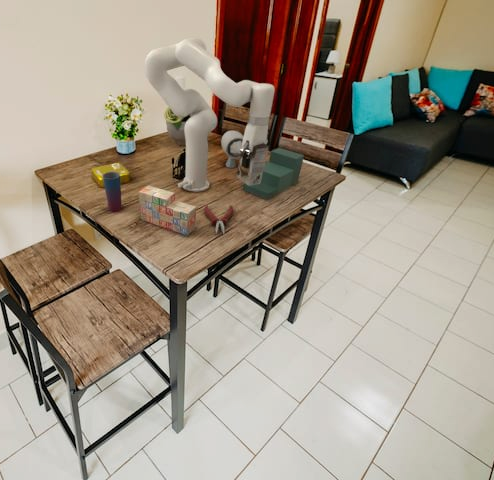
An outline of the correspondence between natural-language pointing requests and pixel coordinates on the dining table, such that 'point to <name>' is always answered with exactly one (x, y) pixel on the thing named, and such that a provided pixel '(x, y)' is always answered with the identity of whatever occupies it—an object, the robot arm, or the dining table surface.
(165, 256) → the dining table surface
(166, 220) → the stack of blocks
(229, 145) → the white rounded piece
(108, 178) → the cup
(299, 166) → the step shelf
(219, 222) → the pliers
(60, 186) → the dining table surface
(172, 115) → the potted succulent plant
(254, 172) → the coffee box
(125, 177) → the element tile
